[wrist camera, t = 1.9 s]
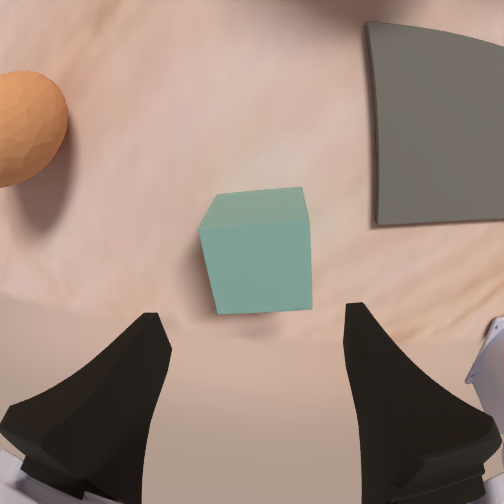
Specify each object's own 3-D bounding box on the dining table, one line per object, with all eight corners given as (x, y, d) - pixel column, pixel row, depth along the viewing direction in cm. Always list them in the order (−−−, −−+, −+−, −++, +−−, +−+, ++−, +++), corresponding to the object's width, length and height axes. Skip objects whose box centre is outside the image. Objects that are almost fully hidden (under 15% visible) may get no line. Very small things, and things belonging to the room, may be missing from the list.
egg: (12, 99, 15) (-81, 127, 8) (74, 49, 14) (-33, 52, 6) (39, 176, 18) (-48, 230, 11) (104, 138, 17) (4, 184, 9)
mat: (514, 214, 17) (518, 217, 16) (375, 221, 18) (378, 225, 18) (520, 54, 11) (525, 54, 10) (364, 23, 13) (367, 21, 12)
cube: (306, 260, 20) (312, 309, 16) (230, 265, 21) (217, 314, 17) (301, 186, 18) (309, 220, 13) (217, 194, 18) (198, 229, 14)
